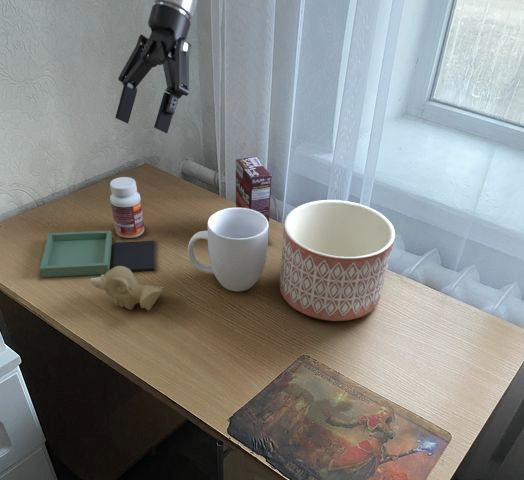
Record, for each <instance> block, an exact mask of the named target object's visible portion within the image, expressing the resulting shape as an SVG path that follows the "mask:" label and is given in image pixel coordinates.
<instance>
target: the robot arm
mask: <svg viewBox="0 0 524 480" xmlns="http://www.w3.org/2000/svg"><path fill="white" fill-rule="evenodd" d="M153 1H154V4H153V5H152V6H151V10H150V14H149V17H148V21H147V24H148V27H149V28H150V31H151V33H150V35H149V37H148V36H145V35H143V34H139V36H138V39H137V42H136V44H135V47H134V49H133V50H132V52H131V54H130V56H129V58H128V60H127V61H126V63H125V65H124V67H123V69H122V70H121V72H120V74H119V76H118V81H119V82H120V83H121V84H122V90H121V95H120V98H119V103H118V105H117V110H116V113H115V119H117V120H119V121H121V122H122V123H125V124H129V122H130V118H131V115H132V111H133V108H134V104H135V100H136V97H137V93H138V88H137V87H138V86H139V84H141V82H142V81H143V79H144V78H145V77H147V75H148V73H149V72H150V71H151V70H152V68H156V67H157V66H162V68H163V72H164V78H165V84H166V88H165V89H164V91H165V92H163V96H162V98H161V102H160V105H159V108H158V112H157V116H156V119H155V123H154V126H153V127H154V129H156V130H158V131H161V132H162V133H165V134H168V132H169V129H170V126H171V122H172V120H173V116H174V114H175V113H176V109H177V106H178V102H179V99H181V98H182V97H183V96H185V97H188V95H190V94H189V93H190V54H191V49H192V44H191V43H190V42H189V41H187V39H188V35H189V31H190V28H191V25H192V23H191V21H190V20H192V19H193V18H194V14H195V10H196V6H197V2H198V0H153Z"/></svg>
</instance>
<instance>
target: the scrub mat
mask: <svg viewBox="0 0 524 480" xmlns="http://www.w3.org/2000/svg"><path fill="white" fill-rule="evenodd" d="M112 259H113V260H112V268H114V267H116V266H124V267H126V268H128V269H130V270H131V271H132V273H133V272H149V271H150V272H151V271H155V241H154V240H142V241H141V240H139V241H120V242H119V241H118V242H114V250H113V258H112Z"/></svg>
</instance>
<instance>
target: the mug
mask: <svg viewBox="0 0 524 480" xmlns="http://www.w3.org/2000/svg"><path fill="white" fill-rule="evenodd" d="M198 240H205V241H207V248H208V249H207V250H208V256H209V262H210V265H206V264H203V263H201V262H199V261H198V260H197V258H196V256H195V253H194V245H195V243H196V241H198ZM268 244H269V233H268V221H267V219H266V217H265V216H264V215H262V214H261V213H259V212H257V211H255V210H251V209H247V208H236V207H227V208H223V209H220V210H218V211H216V212H214V213H213V214H211V215H210V216H209V218H208V219H207V230H201V231H200V230H199V231H198V232H195V233H194V234H193V236H192V237H191V238H190V240H189V242H188V245H187V256H188V259H189V261H190V263H191V265H192V266H193V267H194V268H195V269H197V270H199V271H200V272H203V273H207V274H212V275H213V274H214V276H215V278H216V280H217V282H218V283H219V284H220V285H221V286H222V287H223V288H224V289H226V290H228V291H231V292H232V291H233V292H243V291H247V290H250V289H251V288H253V286H254V285H255V284H256V283H257V282H258V281H259V279H260V277H261V276H262V274H263V271H264V270H265V269H264V268H265V265H266V261H267V254H268Z"/></svg>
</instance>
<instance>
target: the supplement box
mask: <svg viewBox="0 0 524 480" xmlns="http://www.w3.org/2000/svg"><path fill="white" fill-rule="evenodd" d="M272 177H273V176H272V174H271V173H270V172H269V171H268V170H267V168H266V167H265V166H264V165H263V164H262V163H261V161H260V160H259V159H258V156H249V157H244V158H237V159H235V208H247V209H251V210H255V211H257V212H259V213H261V214H262V215H264V216H265V217H266V219H267V221H268V234H269V230H270V214H271V212H270V211H271V194H272Z"/></svg>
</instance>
